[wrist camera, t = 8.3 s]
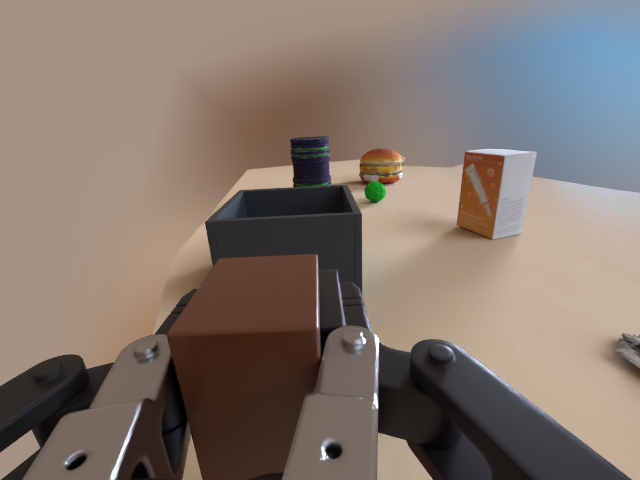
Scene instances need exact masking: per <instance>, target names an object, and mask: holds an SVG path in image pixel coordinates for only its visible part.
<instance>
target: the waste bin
mask: <svg viewBox="0 0 640 480" xmlns="http://www.w3.org/2000/svg"><path fill="white" fill-rule="evenodd" d="M205 225H206V230H207V236H208V241H209V247H210V252H211V258H212V263H213V267H214V265H215V264H216V263H217V261H218V260H219V259H220V258H238V257H261V256H283V255H306V254H317V256H318V270H337V271H338V278H339V283H341V282H353V283H354V284H355V285H356V286H357V287H358V288H360V291H361V295H362V214H361V212H360V210H359V208H358V206H357V204H356V202H355V200H354V198H353V196H352V194H351V192H350V190H349V188H348V186H347V185H332V186H313V187H294V188H274V189H255V190H240V191H238V192H237V193H236V194H235V195H234V196H233V197H232V198H231V199H230V200H229V201H228V202H226V203H225V204H224V205H223V206H222V207H221V208H220V209H219V210H218V211H217V212H215V213H214V214H213V215H212V216H211V217H210V218H209V219H208V220H207V221H206V222H205Z"/></svg>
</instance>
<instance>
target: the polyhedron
mask: <svg viewBox="0 0 640 480" xmlns="http://www.w3.org/2000/svg"><path fill="white" fill-rule="evenodd" d="M385 194H386V189H385V186H384V185H383V184H381V183H380V182H378V181H372V182H371V183H369V184H368V185H367V186H366V188H365V196H366V198H367V199H369V200H370V201H371V202H378V201H380V200H381V199H383V198H384V197H385Z"/></svg>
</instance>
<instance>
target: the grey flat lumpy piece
mask: <svg viewBox="0 0 640 480" xmlns="http://www.w3.org/2000/svg"><path fill="white" fill-rule="evenodd" d="M622 336H623V338H624V339H619V342H621V343H622V345H624V347H623V348H622V347H616V348H617V349H615V350H616V351H619V352H618V353H617V352H616V353H617V354H618V355H623V356H625V357H626V359H627V360H628V361H630V362H631V363H632V364H634V365H636V366H637V367H639V368H640V335H639V336H638V337H637V336H635V335H634V336H631V335H629V334H623V333H622ZM613 349H614V348H613Z"/></svg>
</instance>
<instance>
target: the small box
mask: <svg viewBox="0 0 640 480" xmlns="http://www.w3.org/2000/svg"><path fill="white" fill-rule="evenodd" d="M536 154H537V152H527V151H518V150H502V149H501V150H500V149H482V150H473V151H466V152H465V158H464V166H463V175H462V184H461V193H460V202H459V211H458V220H457V226H460V227H463V228H466V229H468V230H471V231H473V232H476V233H478V234H480V235H483V236H485V237H488V238H489V239H492V240H494V239H498V238H503V237H508V236H514V235H518V234H521V233H522V230H523V224H524V219H525V214H526V208H527V203H528V197H529V191H530V186H531V181H532V175H533V170H534V163H535V159H536Z"/></svg>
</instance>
